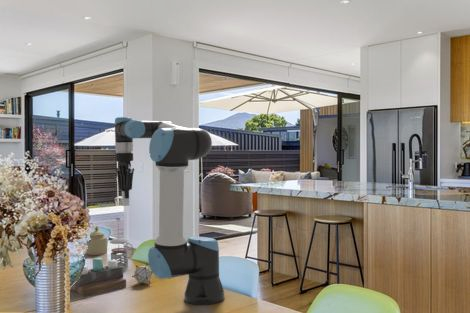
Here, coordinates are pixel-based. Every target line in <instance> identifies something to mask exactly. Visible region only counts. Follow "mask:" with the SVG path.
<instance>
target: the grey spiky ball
mask: <svg viewBox="0 0 470 313" xmlns="http://www.w3.org/2000/svg"><path fill="white" fill-rule="evenodd" d="M148 264H149V263H146V264H145V265H140V266H139V265H136V264H135V267H136V268H135V271H134V273H133V275H132V276H131V277H132V278H134V279H135V280H136V281H137V282H138V286H140V285H141V284H145V283H149V284H151V279H152V275H153V272H152V270H151V268H150V266H148Z"/></svg>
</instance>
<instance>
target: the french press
mask: <svg viewBox="0 0 470 313" xmlns="http://www.w3.org/2000/svg"><path fill="white" fill-rule="evenodd" d="M115 221H121V219H120V217H116V219H115ZM119 229H120V228H119V223H117V230H118V231H117V233H118V236H117V237H116V238H112V239H111V240H110V241H109V242H110V244H112V245H113V244H114V245H117V244H118V245H120V244H125V246H126V247H128V246H129V245H130V246H131V254H130V255H129V256H128V252H127V248H126V247H116V248H115V247H114V248H112V249H111V250H110V251H111V253H110V260H117V265H119V266H122V267H123V273H124V272H125V273H126V272H128V271H130V270H129V269H130V267H129V259H131V257H132V256H133V255H134V247H133V245H132V244H131V243H129V242H128V239H126V238H124V237H120V235H119V234H120V232H119V231H120V230H119Z"/></svg>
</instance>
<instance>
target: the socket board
mask: <svg viewBox="0 0 470 313" xmlns="http://www.w3.org/2000/svg"><path fill="white" fill-rule="evenodd" d="M126 287H127V279H125V278H124V272H123V267H122V266H119V265H117V268H113V269H108V265H105V266H103V271H98V272H94V271H93V268H88V274H83V275H81V276H80V278H79V279H78V280H77V282H76V283H75V284H74V285H73V286H72V287H71V286H70V290H72V291H74V292H75V291H76V293H77V292H78V293H77V294H79V295H81V296H83V297H88V296H93V295H98V294H101V293H105V292H109V291H115V290H118V289H122V288H126Z"/></svg>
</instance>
